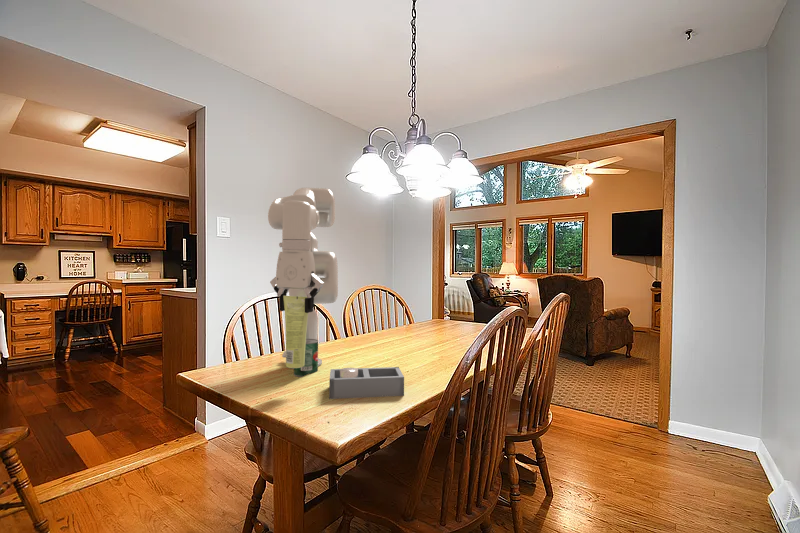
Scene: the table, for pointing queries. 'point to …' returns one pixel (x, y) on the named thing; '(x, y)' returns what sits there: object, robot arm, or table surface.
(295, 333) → the tube
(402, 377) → the rack
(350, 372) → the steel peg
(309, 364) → the canned tomato
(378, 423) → the table surface
